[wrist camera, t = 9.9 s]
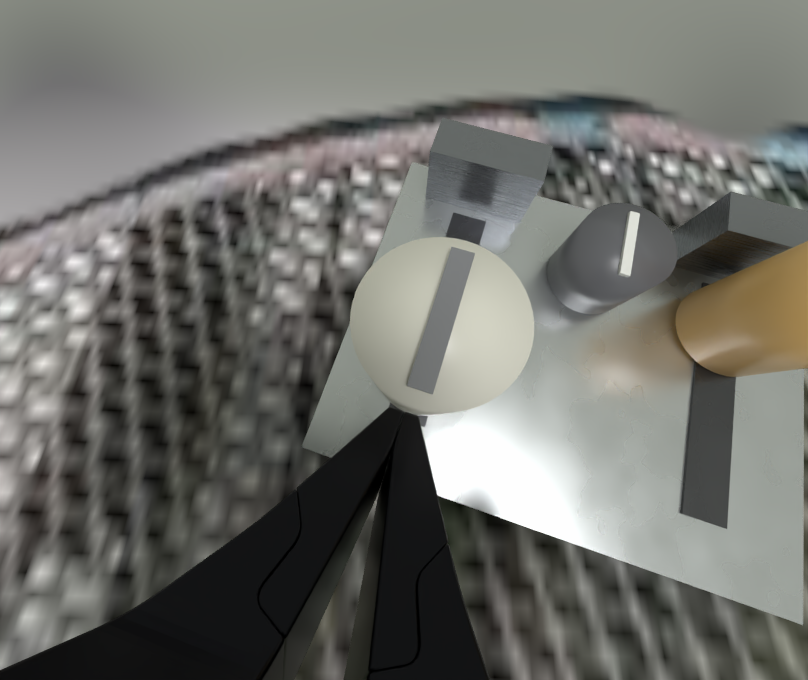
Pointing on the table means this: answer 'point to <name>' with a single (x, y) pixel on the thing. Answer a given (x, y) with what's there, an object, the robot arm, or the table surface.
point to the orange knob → (750, 318)
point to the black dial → (611, 258)
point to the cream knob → (441, 325)
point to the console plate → (607, 390)
